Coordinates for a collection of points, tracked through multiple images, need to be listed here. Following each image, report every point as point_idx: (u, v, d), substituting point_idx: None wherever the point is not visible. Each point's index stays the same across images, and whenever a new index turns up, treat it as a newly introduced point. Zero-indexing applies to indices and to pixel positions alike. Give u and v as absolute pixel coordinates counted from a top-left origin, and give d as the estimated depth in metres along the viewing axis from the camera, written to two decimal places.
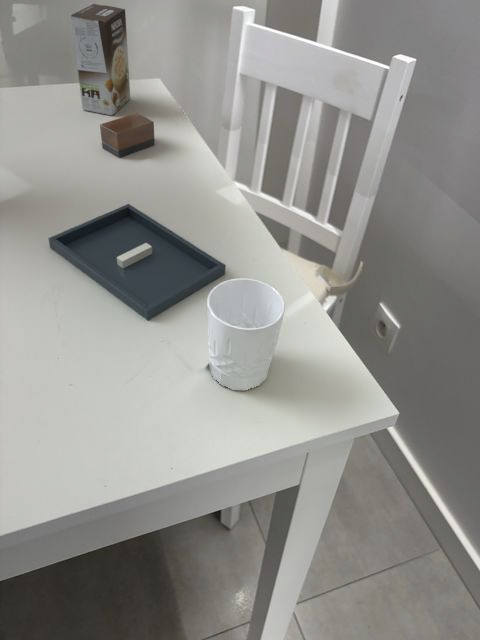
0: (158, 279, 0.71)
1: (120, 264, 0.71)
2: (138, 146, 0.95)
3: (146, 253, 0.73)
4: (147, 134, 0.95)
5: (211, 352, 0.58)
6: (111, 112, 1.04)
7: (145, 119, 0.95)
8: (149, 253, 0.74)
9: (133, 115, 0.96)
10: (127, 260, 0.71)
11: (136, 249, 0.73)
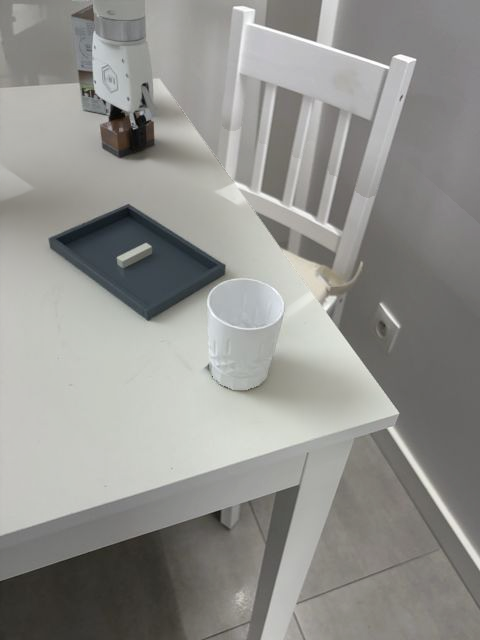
0: (158, 279, 0.71)
1: (120, 264, 0.71)
2: None
3: (146, 253, 0.73)
4: (147, 134, 0.95)
5: (211, 352, 0.58)
6: None
7: None
8: (149, 253, 0.74)
9: None
10: (127, 260, 0.71)
11: (136, 249, 0.73)
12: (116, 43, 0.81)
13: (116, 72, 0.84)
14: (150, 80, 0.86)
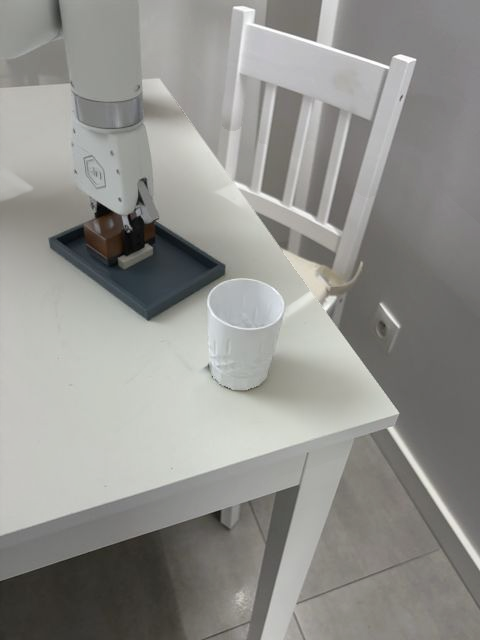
0: (158, 279, 0.71)
1: (121, 265, 0.71)
2: None
3: (147, 254, 0.73)
4: (146, 233, 0.73)
5: (211, 352, 0.58)
6: None
7: None
8: (150, 254, 0.74)
9: None
10: (128, 261, 0.71)
11: None
12: (102, 131, 0.59)
13: (103, 166, 0.62)
14: (149, 174, 0.64)
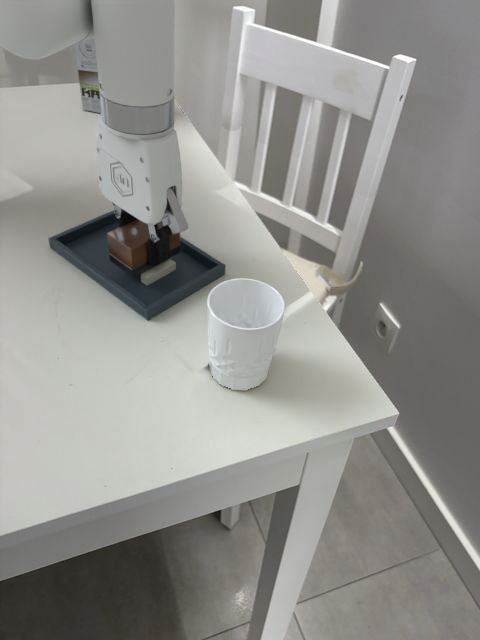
0: (158, 279, 0.71)
1: (144, 281, 0.69)
2: None
3: (170, 269, 0.71)
4: (171, 242, 0.70)
5: (211, 352, 0.58)
6: None
7: None
8: (173, 269, 0.72)
9: None
10: (151, 277, 0.69)
11: (160, 265, 0.71)
12: (132, 137, 0.56)
13: (131, 173, 0.59)
14: (179, 181, 0.61)
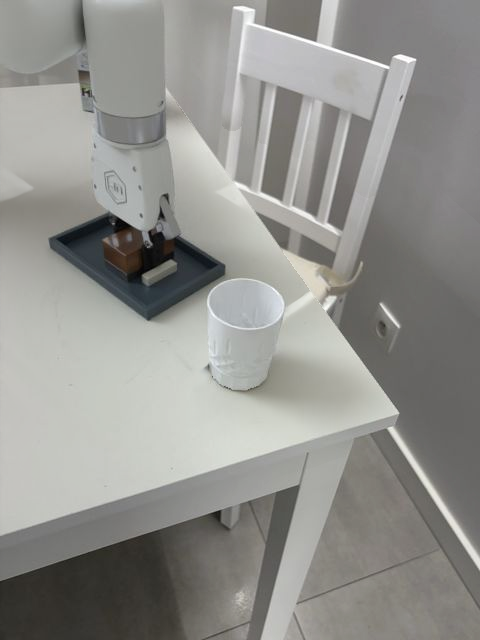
0: None
1: (145, 282, 0.69)
2: None
3: (171, 270, 0.71)
4: (165, 247, 0.72)
5: (211, 352, 0.58)
6: None
7: None
8: (174, 270, 0.72)
9: None
10: (152, 278, 0.69)
11: (161, 266, 0.71)
12: (125, 147, 0.57)
13: (125, 181, 0.61)
14: (171, 189, 0.63)
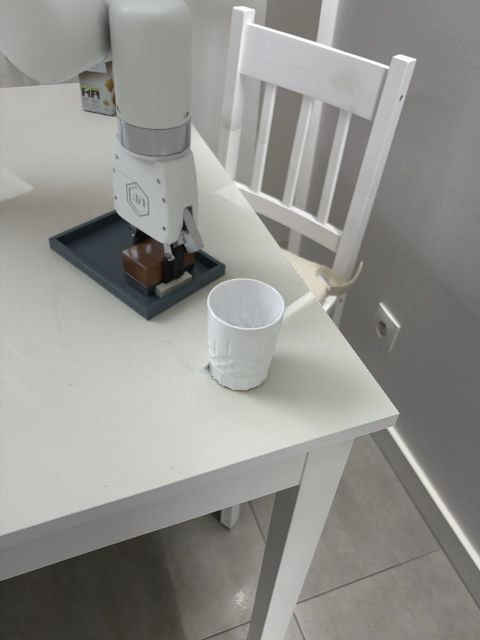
0: None
1: (157, 292, 0.68)
2: None
3: None
4: (185, 259, 0.70)
5: (211, 352, 0.58)
6: (111, 112, 1.04)
7: None
8: None
9: None
10: None
11: (180, 284, 0.69)
12: (149, 159, 0.56)
13: (148, 193, 0.59)
14: (195, 201, 0.61)
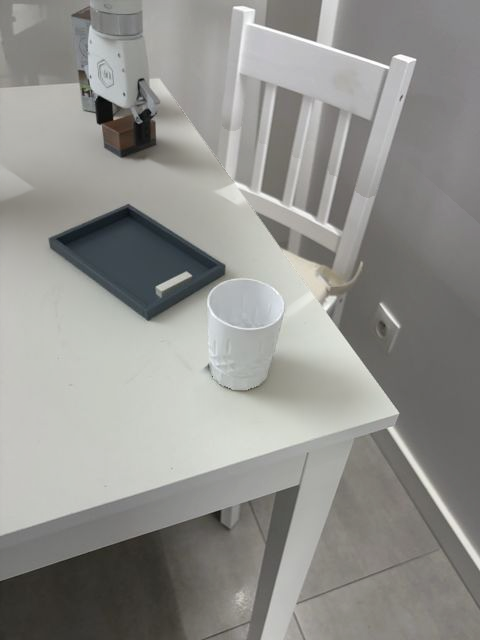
0: (158, 279, 0.71)
1: (157, 292, 0.68)
2: None
3: None
4: None
5: (211, 352, 0.58)
6: None
7: None
8: None
9: None
10: (165, 295, 0.69)
11: (180, 284, 0.69)
12: (112, 37, 0.80)
13: (112, 67, 0.83)
14: (146, 76, 0.85)
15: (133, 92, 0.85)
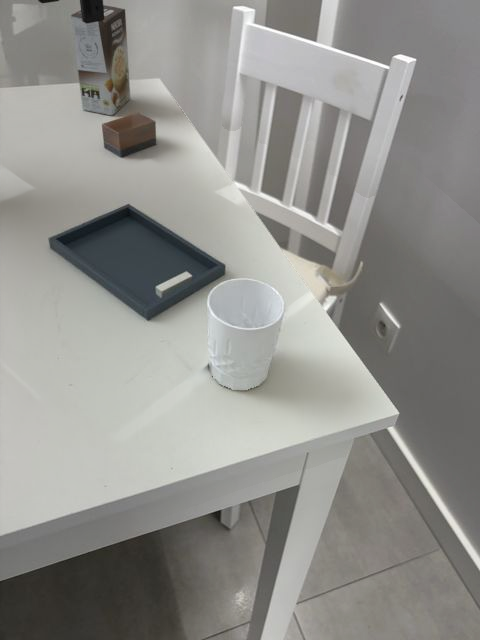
0: (158, 279, 0.71)
1: (157, 292, 0.68)
2: (140, 145, 0.95)
3: None
4: (149, 134, 0.95)
5: (211, 352, 0.58)
6: (111, 112, 1.04)
7: (147, 119, 0.95)
8: None
9: (135, 115, 0.96)
10: (165, 295, 0.69)
11: (180, 284, 0.69)
12: None
13: None
14: None
15: None
